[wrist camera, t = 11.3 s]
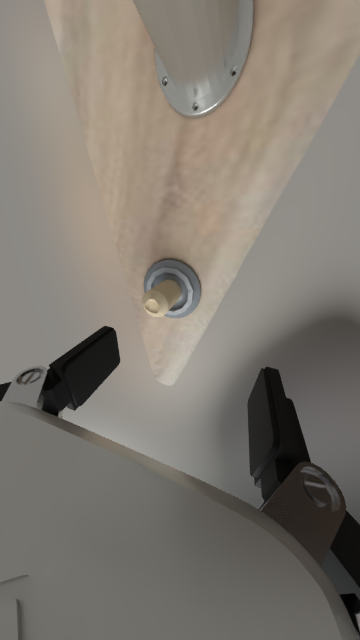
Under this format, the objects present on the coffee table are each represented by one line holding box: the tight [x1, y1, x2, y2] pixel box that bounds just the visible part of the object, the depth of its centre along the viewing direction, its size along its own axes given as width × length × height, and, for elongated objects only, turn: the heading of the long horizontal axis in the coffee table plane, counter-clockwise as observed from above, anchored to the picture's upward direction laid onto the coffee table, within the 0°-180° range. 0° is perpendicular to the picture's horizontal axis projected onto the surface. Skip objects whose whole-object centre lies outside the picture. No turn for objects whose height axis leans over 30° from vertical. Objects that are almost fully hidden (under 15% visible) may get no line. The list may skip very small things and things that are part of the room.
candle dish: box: [144, 260, 201, 318], centre depth 39 cm, size 14×14×2 cm
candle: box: [142, 279, 182, 317], centre depth 35 cm, size 6×6×10 cm
